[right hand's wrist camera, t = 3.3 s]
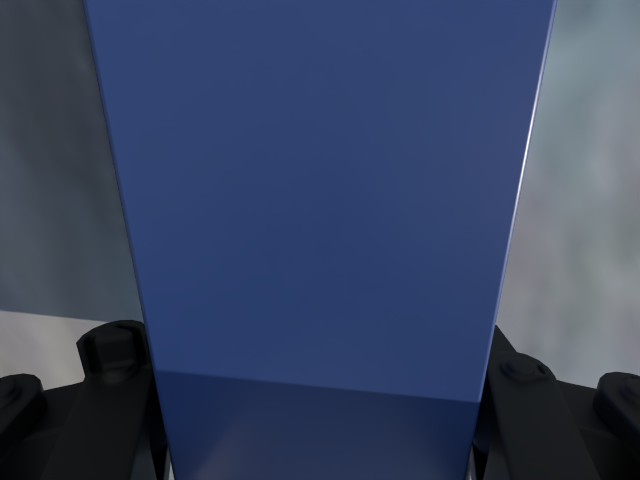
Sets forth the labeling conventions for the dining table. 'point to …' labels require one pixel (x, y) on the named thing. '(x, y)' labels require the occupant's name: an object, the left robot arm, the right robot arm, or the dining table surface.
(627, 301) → the dining table surface
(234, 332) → the bar
